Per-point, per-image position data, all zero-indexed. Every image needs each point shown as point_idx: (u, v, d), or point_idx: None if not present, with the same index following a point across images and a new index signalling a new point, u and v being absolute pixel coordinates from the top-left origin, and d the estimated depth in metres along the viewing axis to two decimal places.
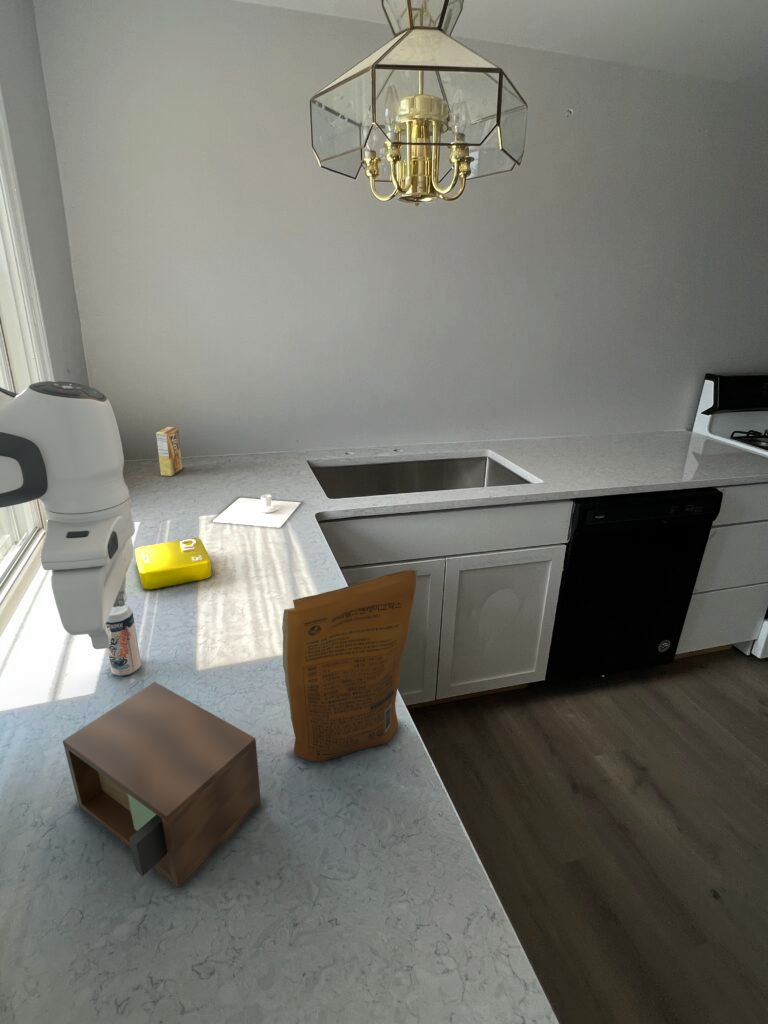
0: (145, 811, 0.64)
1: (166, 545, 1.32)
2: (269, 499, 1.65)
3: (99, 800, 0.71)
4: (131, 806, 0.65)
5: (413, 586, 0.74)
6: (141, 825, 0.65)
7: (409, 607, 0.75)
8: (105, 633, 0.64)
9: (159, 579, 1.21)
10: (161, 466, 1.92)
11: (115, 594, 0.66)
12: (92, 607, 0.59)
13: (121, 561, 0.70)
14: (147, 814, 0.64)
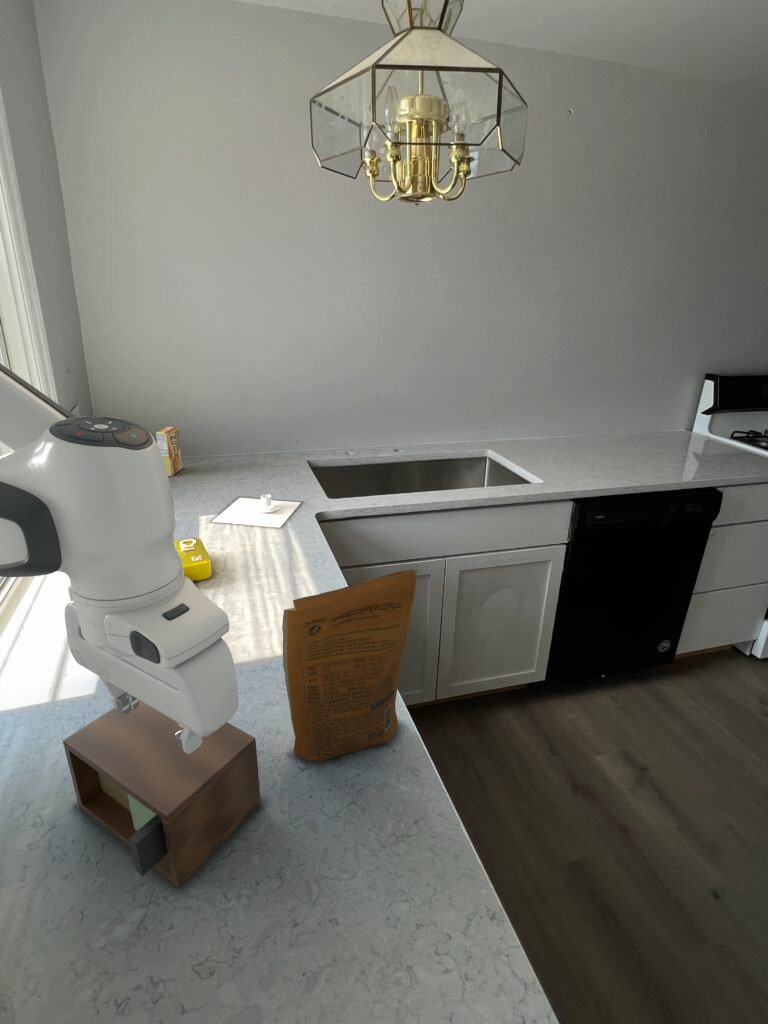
0: (145, 811, 0.64)
1: None
2: (269, 499, 1.65)
3: (99, 800, 0.71)
4: (131, 806, 0.65)
5: (413, 586, 0.74)
6: (141, 825, 0.65)
7: (409, 607, 0.75)
8: None
9: None
10: None
11: None
12: (231, 687, 0.47)
13: None
14: (147, 814, 0.64)
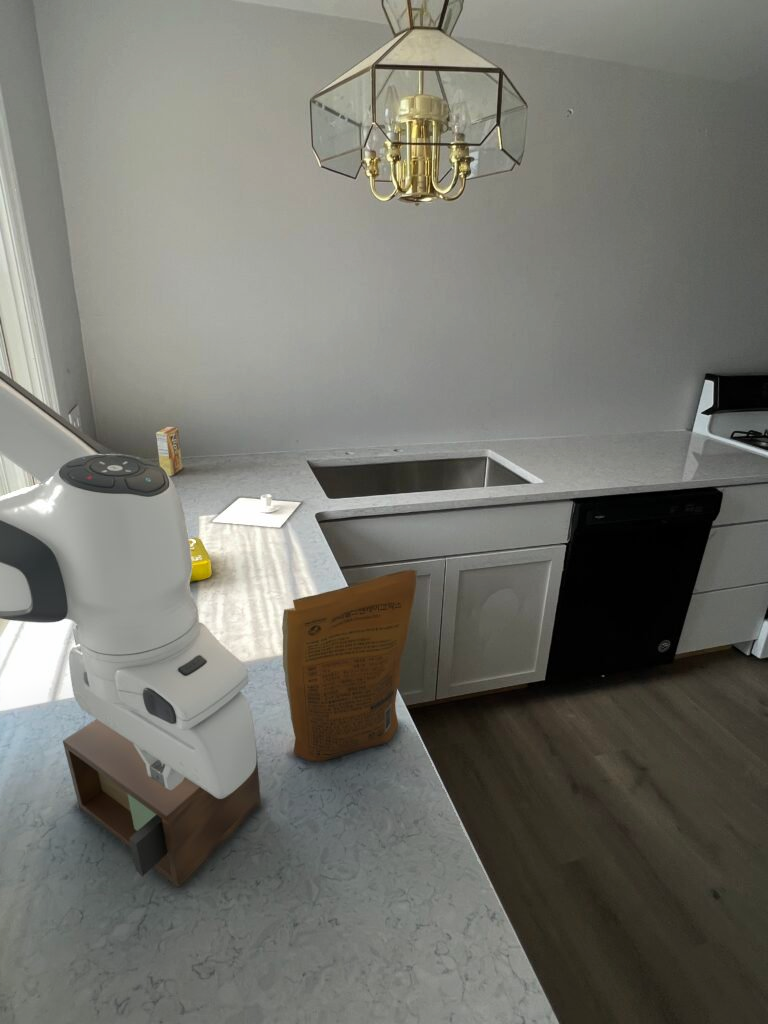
0: (145, 811, 0.64)
1: None
2: (269, 499, 1.65)
3: (99, 800, 0.71)
4: (131, 806, 0.65)
5: (413, 586, 0.74)
6: (141, 825, 0.65)
7: (409, 607, 0.75)
8: None
9: None
10: (161, 466, 1.92)
11: None
12: (250, 744, 0.44)
13: None
14: (147, 814, 0.64)
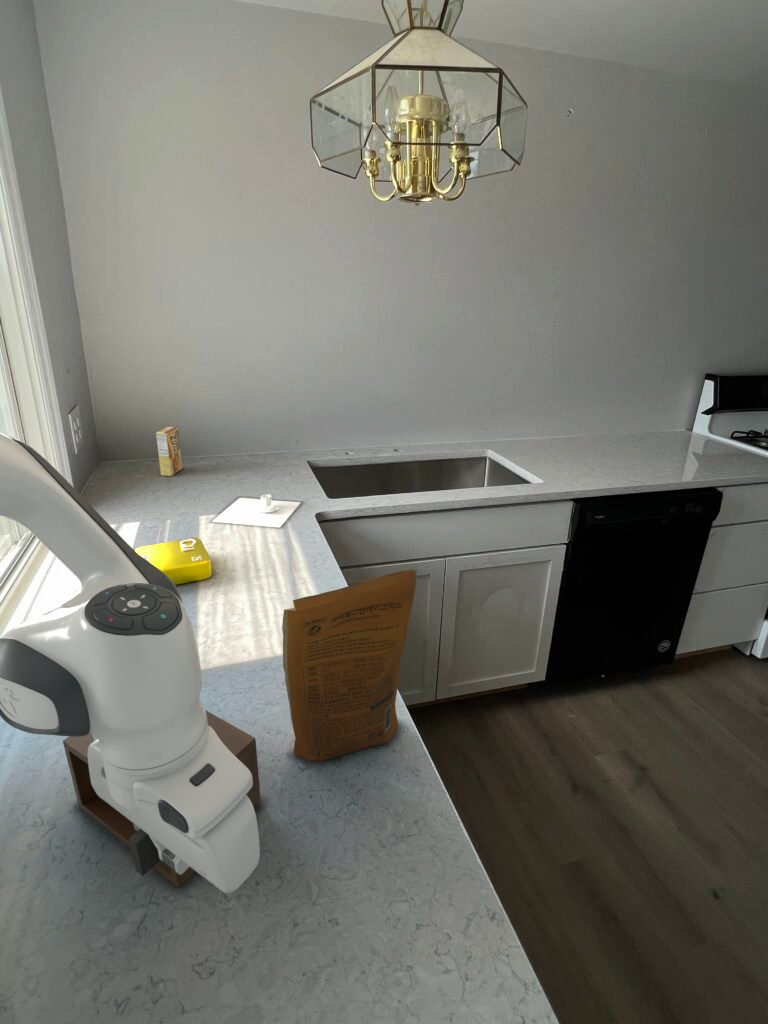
0: None
1: (166, 545, 1.32)
2: (269, 499, 1.65)
3: (99, 800, 0.71)
4: None
5: (413, 586, 0.74)
6: None
7: (409, 607, 0.75)
8: None
9: None
10: (161, 466, 1.92)
11: None
12: (254, 842, 0.48)
13: None
14: None
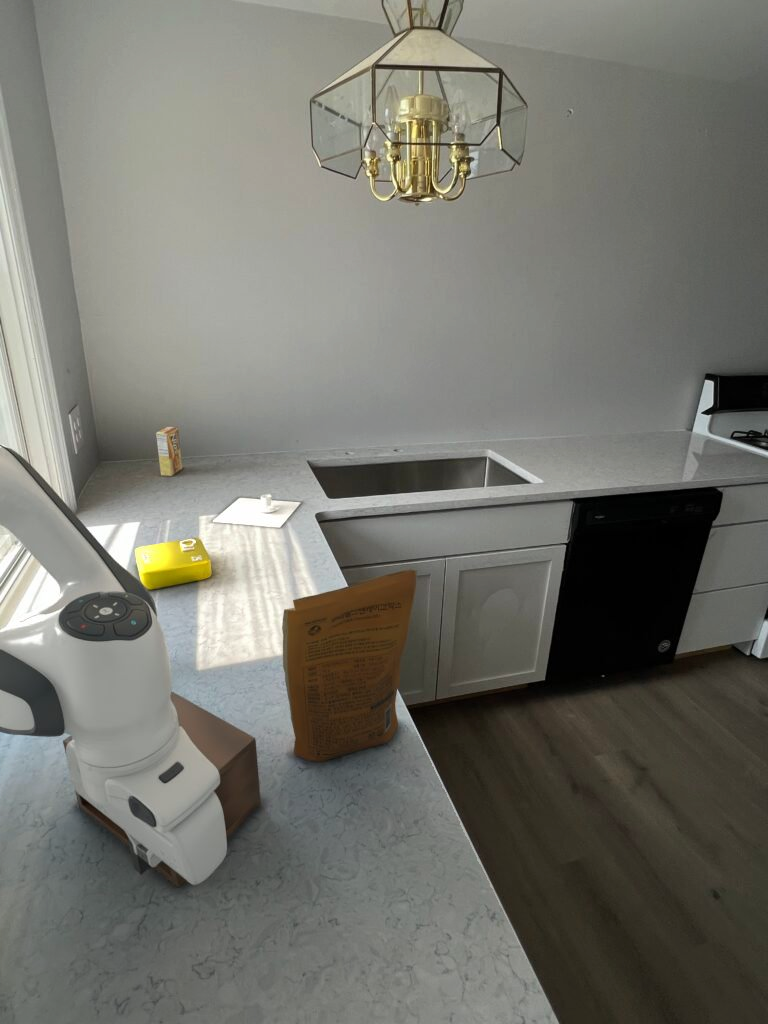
0: None
1: (166, 545, 1.32)
2: (269, 499, 1.65)
3: None
4: None
5: (413, 586, 0.74)
6: None
7: (409, 607, 0.75)
8: None
9: (159, 579, 1.21)
10: (161, 466, 1.92)
11: None
12: (221, 837, 0.51)
13: None
14: None
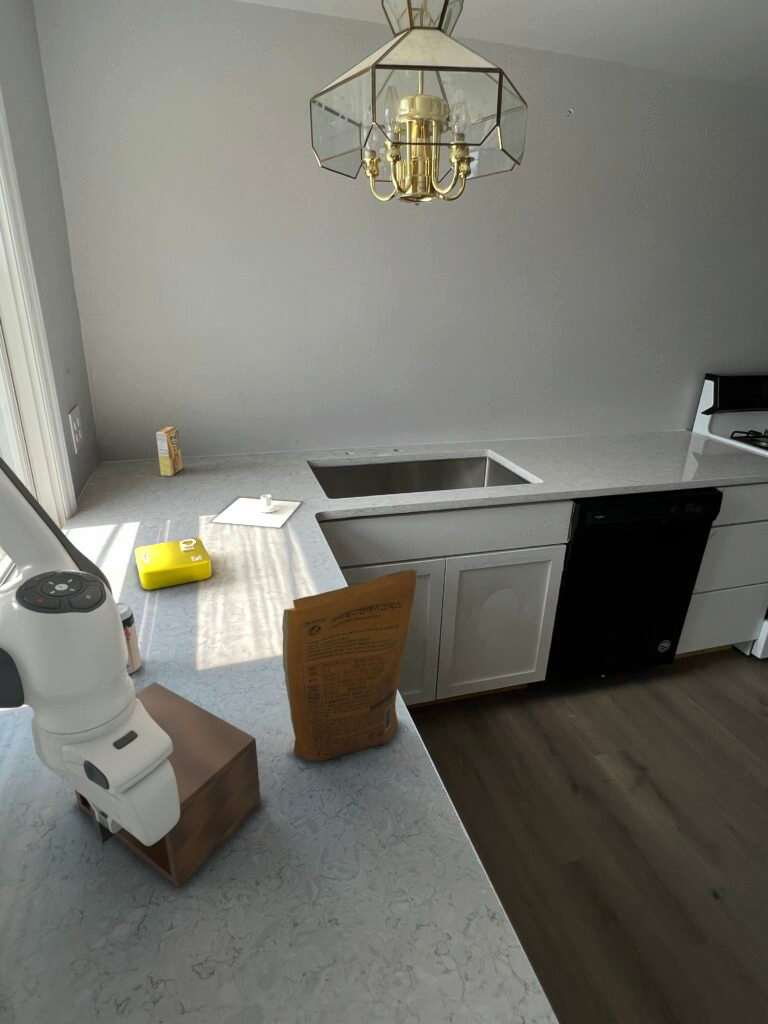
0: None
1: (166, 545, 1.32)
2: (269, 499, 1.65)
3: None
4: None
5: (413, 586, 0.74)
6: None
7: (409, 607, 0.75)
8: None
9: (159, 579, 1.21)
10: (161, 466, 1.92)
11: None
12: (173, 801, 0.54)
13: None
14: None
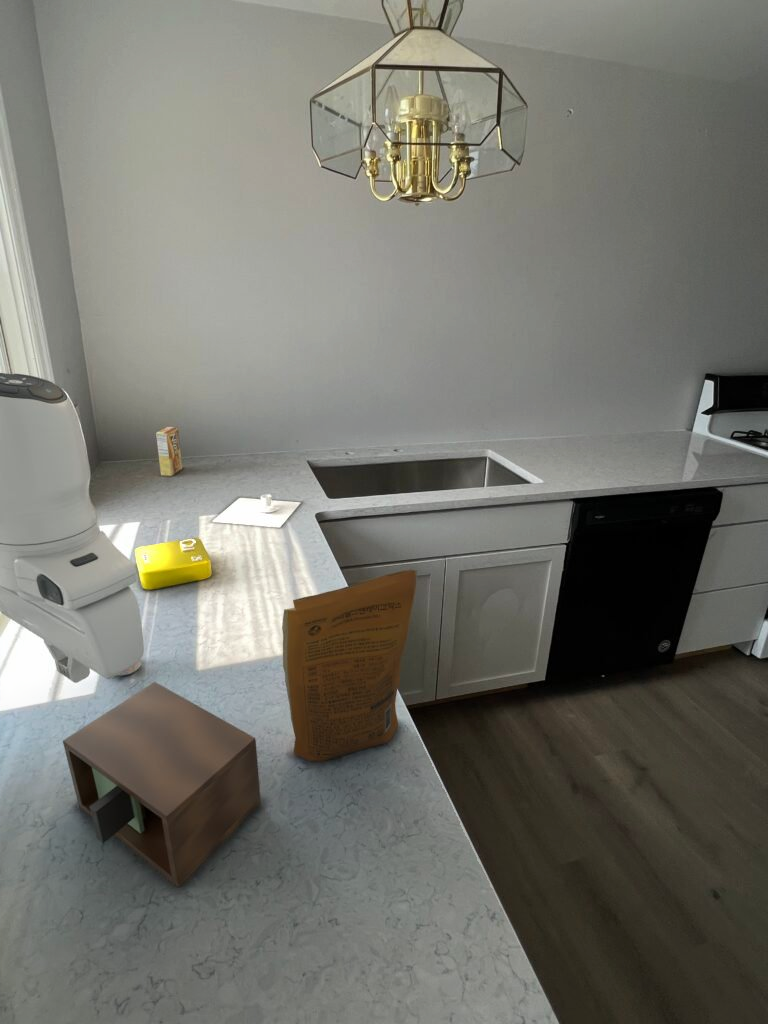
0: (108, 784, 0.67)
1: (166, 545, 1.32)
2: (269, 499, 1.65)
3: None
4: (96, 780, 0.69)
5: (413, 586, 0.74)
6: None
7: (409, 607, 0.75)
8: None
9: (159, 579, 1.21)
10: (161, 466, 1.92)
11: None
12: (136, 633, 0.50)
13: None
14: (110, 787, 0.67)
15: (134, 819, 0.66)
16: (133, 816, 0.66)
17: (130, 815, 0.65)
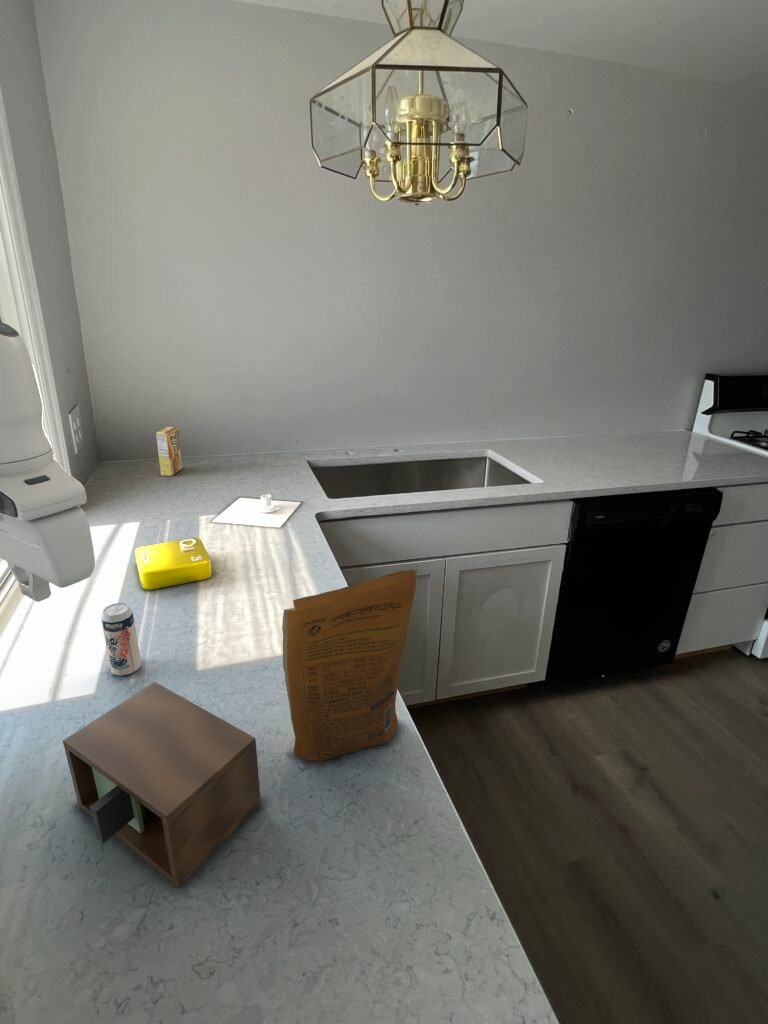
0: (108, 784, 0.67)
1: (166, 545, 1.32)
2: (269, 499, 1.65)
3: None
4: (96, 780, 0.69)
5: (413, 586, 0.74)
6: None
7: (409, 607, 0.75)
8: None
9: (159, 579, 1.21)
10: (161, 466, 1.92)
11: None
12: (87, 547, 0.56)
13: None
14: (110, 787, 0.67)
15: (134, 819, 0.66)
16: (133, 816, 0.66)
17: (130, 815, 0.65)
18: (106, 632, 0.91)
